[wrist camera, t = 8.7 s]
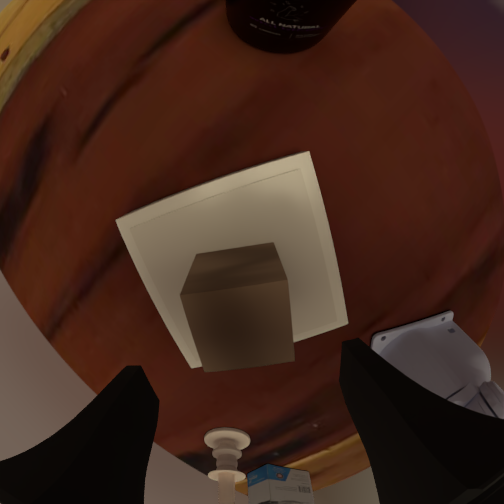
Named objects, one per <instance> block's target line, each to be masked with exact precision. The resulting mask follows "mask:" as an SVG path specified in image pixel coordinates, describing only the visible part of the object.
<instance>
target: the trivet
mask: <svg viewBox="0 0 504 504" xmlns="http://www.w3.org/2000/svg"><path fill="white" fill-rule="evenodd" d="M116 223H117V225H118V228H119V230H120V232H121V235H122V237H123V239H124V242H125V244H126V246H127V249H128V251H129V253H130V255H131V257H132V260H133V262H134V264H135V266H136V268H137V270H138V272H139V274H140V276H141V279H142V281H143V283H144V285H145V287H146V289H147V291H148V293H149V295H150V296H151V298H152V300H153V302H154V304H155V306H156V308H157V310H158V312H159V313H160V315H161V317H162V319H163V321H164V323H165V324H166V326H167V328H168V330H169V332H170V333H171V335H172V337H173V338H174V340H175V342H176V344H177V345H178V347H179V349H180V350H181V352H182V354H183V355H184V357H185V359H186V360H187V362H188V363H189V365H190V367H191V368H196V367H201V366H202V364H201V361H200V358H199V355H198V352H197V349H196V346H195V343H194V340H193V337H192V334H191V331H190V328H189V325H188V321H187V318H186V315H185V312H184V308H183V305H182V302H181V298H180V293H181V291H182V288H183V285H184V283H185V280H186V278H187V275H188V273H189V270H190V268H191V266H192V263H193V261H194V258H195V256H196V254H199V253H205V252H212V251H218V250H225V249H231V248H238V247H244V246H251V245H257V244H264V243H271V242H274V245H275V247H276V250H277V252H278V255H279V258H280V260H281V263H282V266H283V268H284V271H285V274H286V276H287V279H288V286H289V297H290V307H291V318H292V330H293V342H296V341H300V340H303V339H306V338H309V337H312V336H315V335H318V334H321V333H324V332H327V331H330V330H333V329H335V328H338V327H341V326H344V325H346V324H348V319H347V313H346V307H345V301H344V295H343V290H342V285H341V279H340V274H339V269H338V264H337V259H336V255H335V250H334V245H333V241H332V237H331V232H330V228H329V224H328V220H327V215H326V211H325V207H324V204H323V200H322V196H321V192H320V188H319V185H318V181H317V177H316V174H315V170H314V167H313V163H312V160H311V157H310V153H309V151H305V152H298V153H295V154H291V155H288V156H284V157H281V158H277V159H274V160H271V161H267V162H264V163H261V164H258V165H254V166H251V167H248V168H245V169H242V170H239V171H236V172H233V173H230V174H227V175H224V176H221V177H218V178H215V179H213V180H210V181H207V182H204V183H202V184H199V185H196V186H193V187H191V188H188V189H185V190H183V191H180V192H178V193H175V194H173V195H170V196H167V197H165V198H162V199H160V200H158V201H155V202H153V203H150V204H148V205H145V206H143V207H141V208H138V209H136V210H134V211H131V212H129V213H127V214H125V215H124V216H122V217H120V218H118V219H117V220H116Z"/></svg>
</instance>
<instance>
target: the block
mask: <svg viewBox="0 0 504 504" xmlns="http://www.w3.org/2000/svg"><path fill="white" fill-rule="evenodd" d="M180 298H181V302H182V305H183V308H184V312H185V315H186V318H187V321H188V325H189V328H190V331H191V334H192V337H193V340H194V343H195V346H196V349H197V352H198V355H199V358H200V361H201V364H202V366H203V369H204V372H214V371H225V370H234V369H243V368H251V367H259V366H266V365H272V364H279V363H285V362H291V361H295V355H294V342H293V330H292V318H291V307H290V297H289V286H288V279H287V276H286V274H285V271H284V268H283V266H282V263H281V260H280V258H279V255H278V252H277V250H276V247H275V245H274V242H271V243H264V244H257V245H251V246H244V247H238V248H231V249H225V250H218V251H212V252H205V253H199V254H196V256H195V258H194V261H193V263H192V266H191V268H190V270H189V273H188V275H187V278H186V280H185V283H184V285H183V288H182V291H181V293H180Z"/></svg>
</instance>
